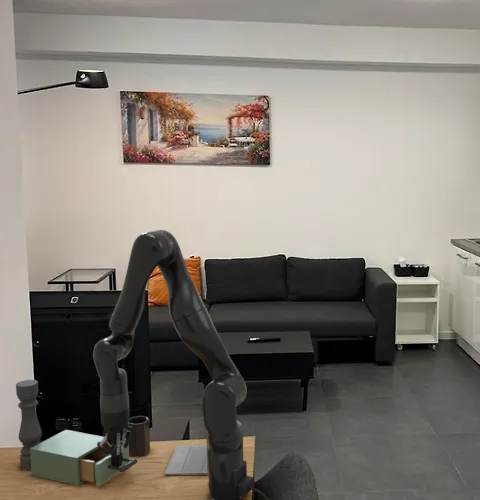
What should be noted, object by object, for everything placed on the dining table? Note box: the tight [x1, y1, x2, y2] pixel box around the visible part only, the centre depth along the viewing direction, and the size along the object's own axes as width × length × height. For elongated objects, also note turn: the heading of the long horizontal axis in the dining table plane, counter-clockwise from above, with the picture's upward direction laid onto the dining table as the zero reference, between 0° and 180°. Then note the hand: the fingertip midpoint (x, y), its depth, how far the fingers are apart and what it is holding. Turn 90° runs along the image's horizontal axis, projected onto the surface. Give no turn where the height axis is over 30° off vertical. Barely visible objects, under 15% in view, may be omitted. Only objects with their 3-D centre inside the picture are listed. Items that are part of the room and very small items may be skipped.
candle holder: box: [15, 379, 43, 471], centre depth 188 cm, size 6×6×25 cm
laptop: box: [164, 433, 208, 476], centre depth 193 cm, size 18×12×13 cm
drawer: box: [79, 447, 138, 487], centre depth 184 cm, size 21×12×6 cm, turn 70°
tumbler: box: [128, 415, 151, 458], centre depth 198 cm, size 6×6×10 cm
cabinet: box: [30, 429, 104, 487], centre depth 187 cm, size 17×14×8 cm
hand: (117, 465), depth 182 cm, fingers closed
